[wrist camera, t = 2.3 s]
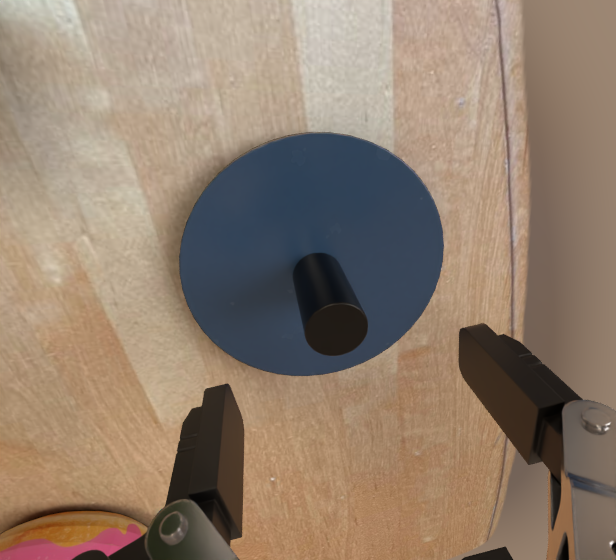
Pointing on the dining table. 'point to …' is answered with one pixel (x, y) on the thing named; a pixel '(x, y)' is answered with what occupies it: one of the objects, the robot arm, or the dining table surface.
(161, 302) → the dining table surface
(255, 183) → the lid
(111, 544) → the donut
